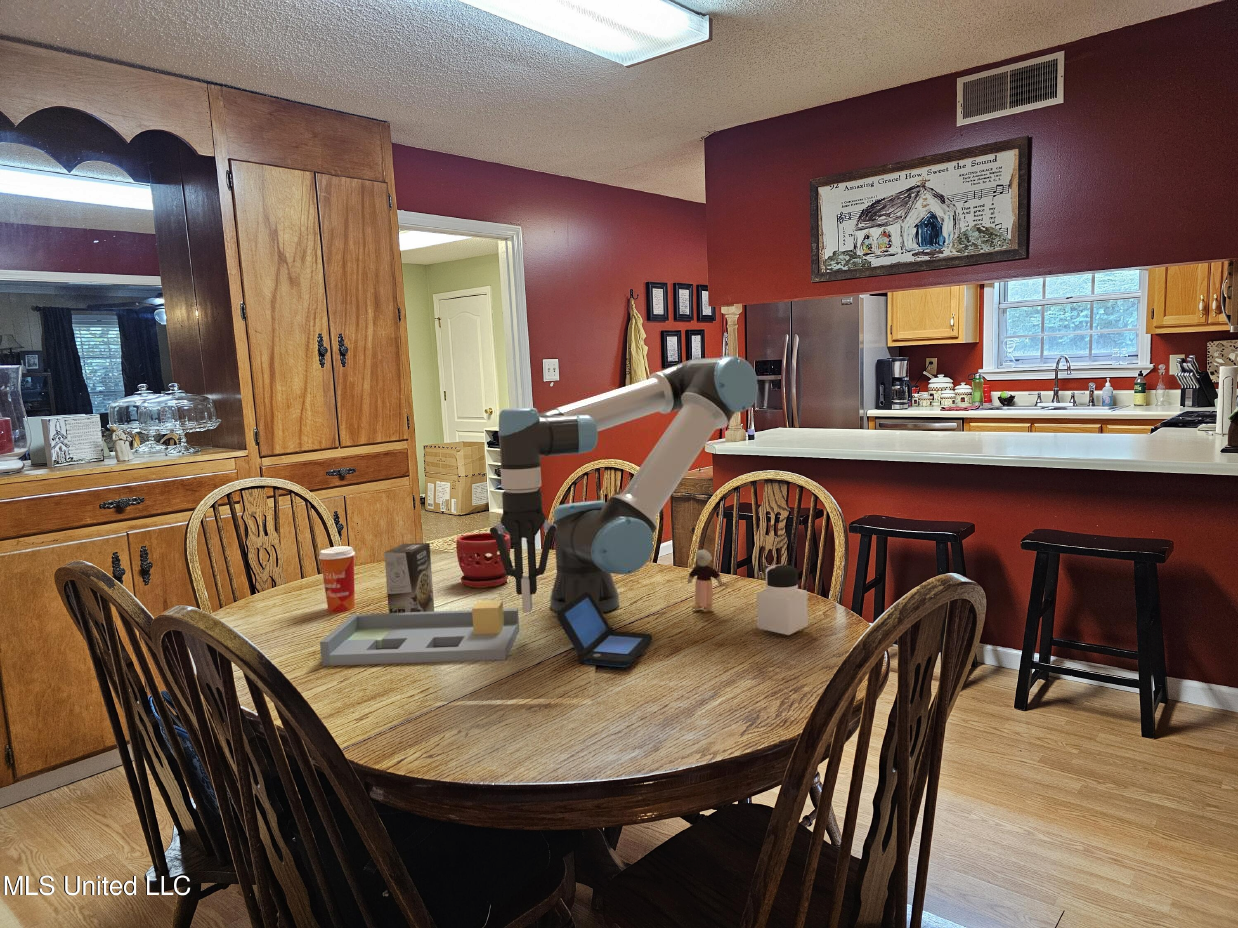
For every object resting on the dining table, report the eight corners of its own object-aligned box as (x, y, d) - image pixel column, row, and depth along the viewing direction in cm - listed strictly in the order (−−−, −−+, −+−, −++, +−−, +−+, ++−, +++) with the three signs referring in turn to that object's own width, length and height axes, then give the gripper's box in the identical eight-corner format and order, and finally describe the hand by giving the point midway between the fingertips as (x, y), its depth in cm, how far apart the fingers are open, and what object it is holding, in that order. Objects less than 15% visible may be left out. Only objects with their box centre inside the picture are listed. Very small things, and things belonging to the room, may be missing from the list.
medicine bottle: (808, 625, 155) (807, 565, 154) (789, 635, 150) (787, 573, 149) (776, 619, 160) (775, 560, 159) (756, 628, 155) (755, 568, 154)
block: (504, 624, 158) (502, 600, 157) (499, 633, 153) (498, 607, 152) (479, 625, 158) (477, 601, 158) (473, 633, 153) (472, 608, 153)
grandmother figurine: (686, 610, 169) (683, 551, 167) (688, 605, 173) (686, 547, 171) (722, 611, 167) (720, 551, 166) (724, 605, 171) (722, 547, 169)
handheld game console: (627, 670, 137) (625, 617, 136) (556, 664, 142) (553, 613, 141) (654, 640, 152) (652, 592, 151) (589, 635, 156) (586, 589, 155)
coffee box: (417, 628, 165) (411, 551, 163) (388, 627, 166) (382, 551, 164) (436, 615, 174) (430, 542, 172) (408, 614, 175) (403, 542, 173)
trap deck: (519, 630, 161) (518, 608, 160) (505, 659, 144) (503, 635, 144) (354, 635, 162) (352, 614, 161) (322, 665, 145) (319, 641, 145)
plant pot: (508, 589, 192) (505, 540, 190) (453, 591, 192) (450, 542, 191) (516, 575, 205) (513, 529, 203) (465, 577, 205) (461, 531, 204)
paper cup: (316, 614, 178) (310, 552, 177) (340, 604, 185) (334, 545, 184) (344, 616, 175) (338, 554, 174) (367, 606, 182) (362, 546, 181)
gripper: (558, 485, 156) (563, 603, 158) (491, 487, 156) (497, 605, 159) (553, 491, 148) (559, 615, 151) (483, 493, 149) (490, 617, 151)
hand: (527, 610), depth 155 cm, fingers closed
